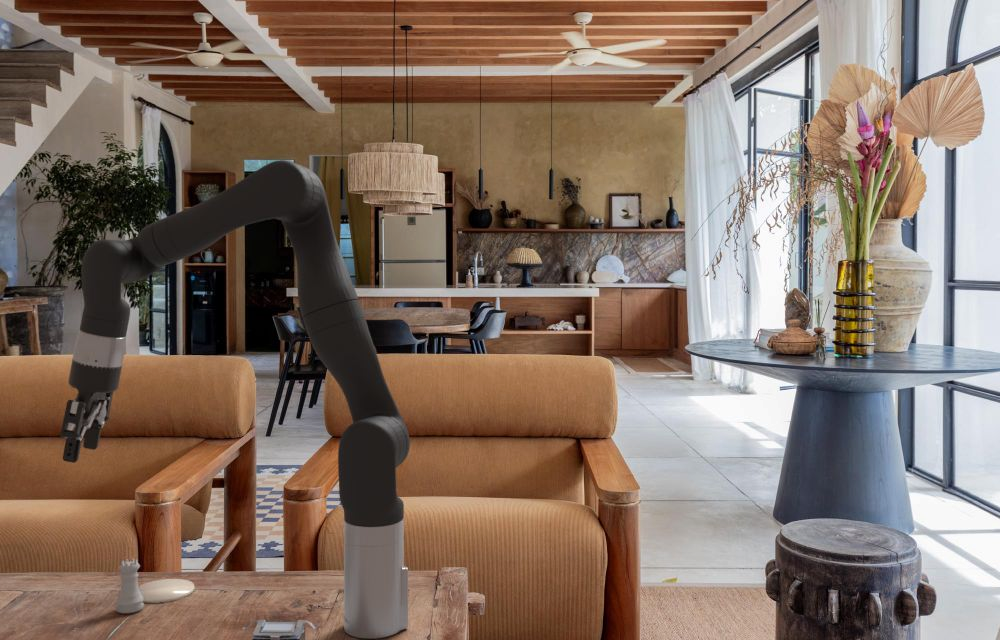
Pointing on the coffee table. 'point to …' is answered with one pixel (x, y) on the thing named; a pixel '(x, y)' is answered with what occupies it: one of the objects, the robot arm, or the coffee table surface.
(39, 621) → the coffee table surface
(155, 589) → the cream round disc
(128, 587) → the rook chess piece
